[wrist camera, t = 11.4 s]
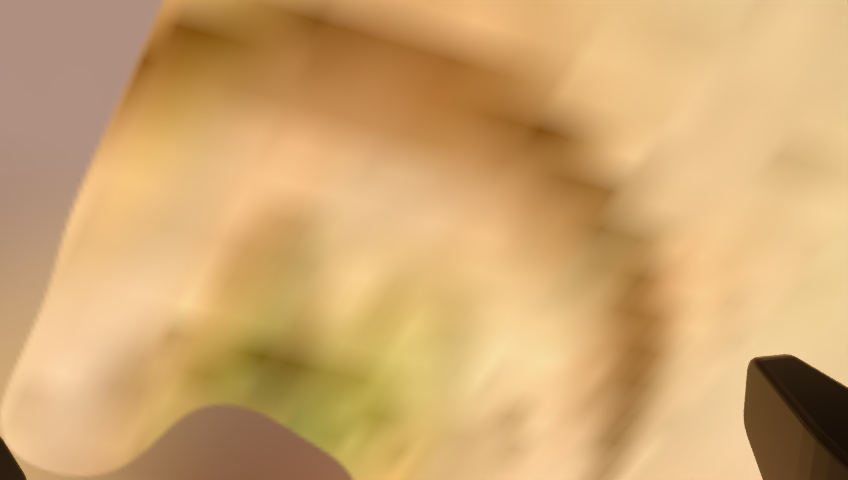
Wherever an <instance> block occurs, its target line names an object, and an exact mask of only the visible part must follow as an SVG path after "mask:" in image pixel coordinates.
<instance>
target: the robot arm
mask: <svg viewBox="0 0 848 480" xmlns="http://www.w3.org/2000/svg"><path fill="white" fill-rule="evenodd" d="M744 424H745V429H746V433H747V436H748V439H749V442H750V445H751V448H752V451H753V453H754V456H755V459H756V462H757V464H758V467H759V470H760V473H761V476H762V478H763V480H848V387H846V386H845V385H843V384H841V383H839V382H838V381H836V380H834V379H833V378H831V377H829V376H828V375H826V374H824V373H822V372H821V371H819V370H817V369H816V368H814V367H812V366H811V365H809V364H807V363H806V362H804V361H802V360H800V359H799V358H797V357H795V356H792V355H786V354H783V355H773V356H763V357H756V358H754V359H752V360H751V361H750V363H749V365H748V369H747V379H746V391H745V403H744ZM0 480H26V477H25V475H24V473H23V471H22V469H21V468H20V466H19V465H18V463H17V462H16V460H15V458H14V457H13V455H12V454H11V452H10V450H9V449H8V447H7V446H6V444H5V442H4V441H3V439H2V438H1V437H0Z"/></svg>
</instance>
